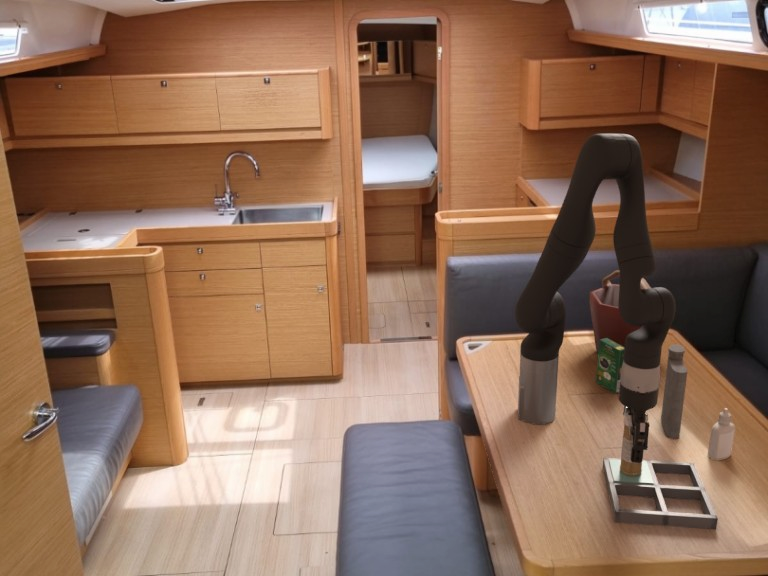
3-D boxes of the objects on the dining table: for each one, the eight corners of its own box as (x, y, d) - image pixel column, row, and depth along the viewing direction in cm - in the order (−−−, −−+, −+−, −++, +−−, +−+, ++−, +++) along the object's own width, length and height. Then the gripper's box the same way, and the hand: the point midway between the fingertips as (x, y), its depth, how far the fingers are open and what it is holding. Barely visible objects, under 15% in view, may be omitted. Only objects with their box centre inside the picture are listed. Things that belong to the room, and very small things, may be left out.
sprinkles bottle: (634, 463, 158) (640, 408, 153) (645, 475, 153) (652, 419, 149) (615, 466, 157) (620, 411, 152) (626, 478, 153) (631, 422, 148)
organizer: (614, 522, 144) (615, 510, 143) (602, 467, 161) (603, 456, 160) (716, 529, 141) (718, 517, 140) (692, 472, 159) (693, 461, 158)
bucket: (580, 339, 226) (585, 263, 218) (652, 338, 225) (660, 261, 217) (600, 374, 203) (606, 291, 195) (680, 373, 202) (690, 289, 194)
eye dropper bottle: (735, 460, 162) (743, 413, 158) (710, 461, 162) (717, 414, 158) (727, 450, 166) (734, 403, 162) (702, 450, 166) (709, 404, 162)
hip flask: (679, 440, 171) (689, 363, 164) (661, 437, 172) (670, 361, 165) (676, 407, 185) (684, 335, 178) (659, 405, 186) (667, 334, 179)
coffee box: (624, 392, 193) (628, 347, 189) (615, 395, 192) (619, 350, 188) (603, 380, 200) (606, 336, 196) (594, 382, 199) (598, 339, 194)
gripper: (615, 365, 155) (609, 431, 161) (625, 397, 142) (619, 468, 147) (652, 367, 154) (645, 433, 159) (666, 399, 141) (657, 470, 146)
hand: (632, 450), depth 153 cm, fingers open, 8 cm apart
